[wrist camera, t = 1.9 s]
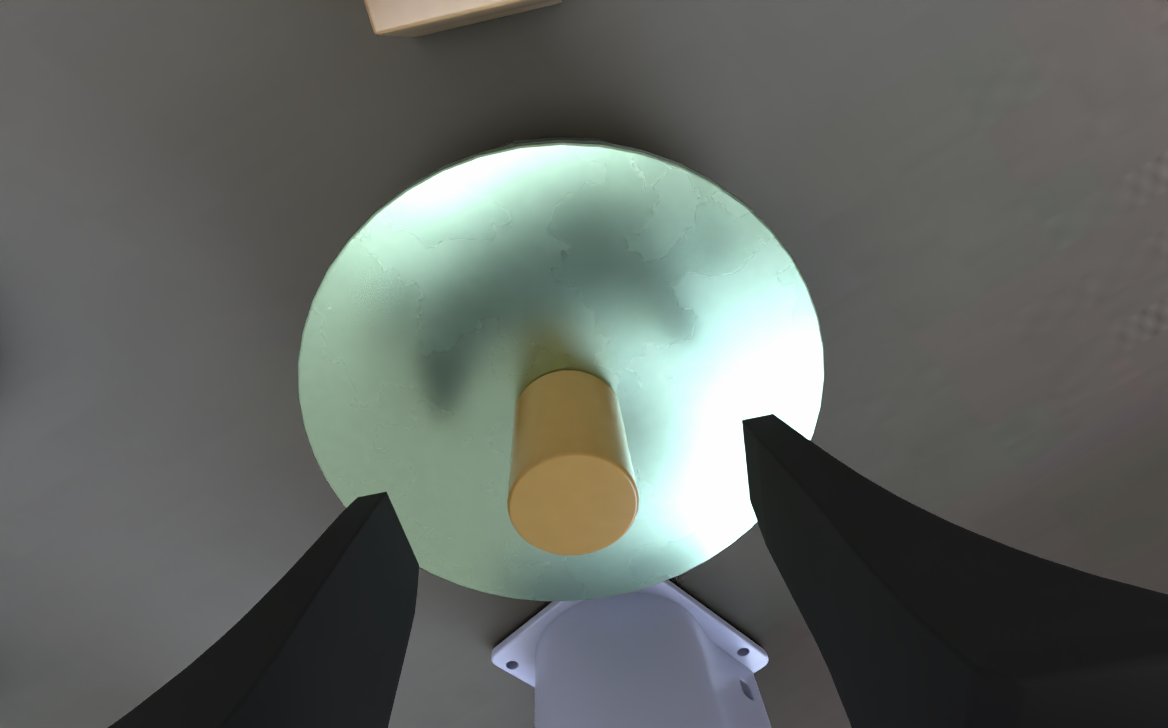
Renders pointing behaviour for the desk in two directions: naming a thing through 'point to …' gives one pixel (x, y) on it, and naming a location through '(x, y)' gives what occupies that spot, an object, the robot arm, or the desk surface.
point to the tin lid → (558, 367)
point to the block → (440, 14)
